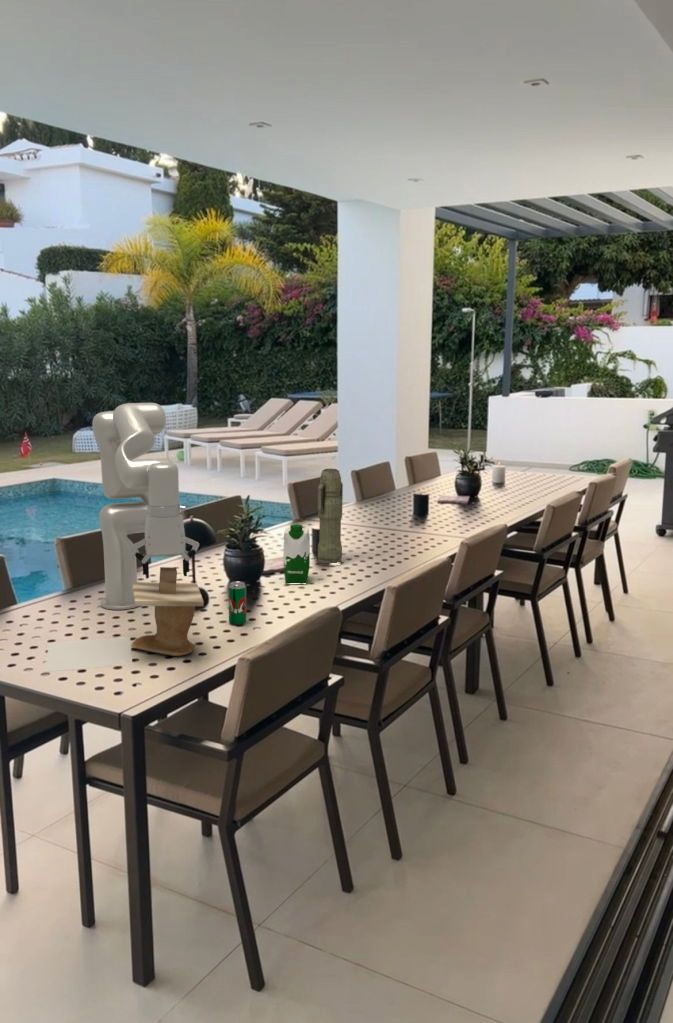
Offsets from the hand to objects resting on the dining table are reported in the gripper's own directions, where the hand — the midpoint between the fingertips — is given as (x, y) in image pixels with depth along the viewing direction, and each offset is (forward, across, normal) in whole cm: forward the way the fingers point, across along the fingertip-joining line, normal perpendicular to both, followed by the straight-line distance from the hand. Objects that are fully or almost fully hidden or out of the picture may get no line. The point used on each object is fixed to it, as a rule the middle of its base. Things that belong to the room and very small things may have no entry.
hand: (166, 576), depth 222 cm
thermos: (+20, -64, -78) cm, 103 cm away
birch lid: (+5, 0, 0) cm, 5 cm away
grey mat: (+20, +20, -1) cm, 29 cm away
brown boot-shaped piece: (+21, 0, 0) cm, 21 cm away
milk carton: (+20, -47, -57) cm, 77 cm away
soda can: (+20, -21, -18) cm, 34 cm away
